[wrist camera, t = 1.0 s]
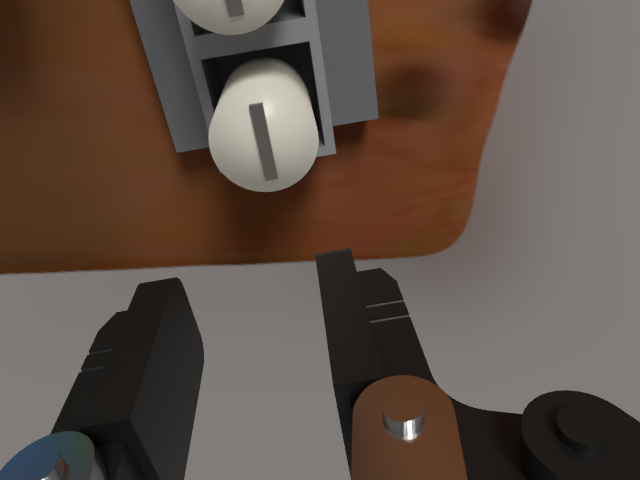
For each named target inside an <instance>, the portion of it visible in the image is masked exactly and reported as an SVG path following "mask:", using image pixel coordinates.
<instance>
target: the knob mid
mask: <svg viewBox="0 0 640 480" xmlns="http://www.w3.org/2000/svg"><path fill="white" fill-rule="evenodd" d="M173 1H174V3H175V4H176V5H177V7H178V8H179V9H180V10H181V11H182V12H183V13H184V14H185V16H186V17H188V18H189V19H190V20H191V21H193V22H194V23H195V24H197V25H199V26H200V27H202V28H204V29H206V30H208V31H211V32H214V33H218V34H224V35H239V34H244V33H248V32H251V31H253V30H256V29H258V28H259V27H261V26H263V25H264V24H265V23H267V22H268V21H269V20H270V19H271V18H272V17H273V16H274V15H275V14H276V13H277V11H278V10H279V9H280V7H281V5H282V3H283V2H284V0H173Z"/></svg>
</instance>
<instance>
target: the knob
mask: <svg viewBox="0 0 640 480" xmlns="http://www.w3.org/2000/svg"><path fill="white" fill-rule="evenodd" d="M208 139H209V148H210V152H211V155H212V158H213V160H214V162H215V164H216V165H217V167H218V168H219V170H220V171H221V172H222V173H223V174H224V175H225V176H226V177H227V178H228V179H229V180H230V181H232V182H233V183H235V184H237V185H238V186H240V187H243V188H245V189H248V190H252V191H257V192H273V191H278V190H282V189H285V188H288V187H290V186H291V185H293V184H295V183H296V182H298V181H299V180H300V179H302V178H303V177H304V176H305V175H306V173H307V172H308V171H309V170H310V168H311V167H312V165H313V163H314V161H315V158H316V155H317V151H318V144H319V137H318V130H317V126H316V122H315V118H314V114H313V109H312V105H311V101H310V97H309V93H308V89H307V87H306V84H305V82H304V80H303V78H302V77H301V75H300V74H299V73H298V72H297V71H296V69H294V68H293V67H292V66H291V65H289V64H288V63H286V62H284V61H282V60H280V59H277V58H272V57H256V58H252V59H250V60H247V61H245V62H243V63H241V64H240V65H239V66H237V67H236V68H235V69H234V70H233V71H232V73H231V74H230V75H229V77H228V79H227V81H226V83H225V86H224V89H223V91H222V94H221V97H220V99H219V102H218V105H217V107H216V110H215V112H214V115H213V118H212V120H211V123H210V128H209V136H208Z"/></svg>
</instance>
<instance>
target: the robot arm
mask: <svg viewBox="0 0 640 480" xmlns="http://www.w3.org/2000/svg"><path fill="white" fill-rule="evenodd" d="M315 256H316V263H317V271H318V278H319V285H320V293H321V300H322V307H323V314H324V322H325V328H326V336H327V343H328V351H329V358H330V365H331V372H332V380H333V387H334V391H335V397H336V402H337V408H338V413H339V418H340V424H341V429H342V434H343V439H344V445H345V450H346V455H347V460H348V465H349V471H350V476H351V480H640V422H639V421H637V420H636V419H634V418H633V417H631V416H630V415H628V414H627V413H625V412H624V411H622V410H621V409H620V408H618V407H616V406H615V405H613V404H611V403H610V402H608V401H606V400H604V399H602V398H599V397H597V396H594V395H591V394H587V393H583V392H578V391H568V390H567V391H554V392H549V393H546V394H543V395H540V396H539V397H537V398H535V399H534V400H533V401H531V402H530V403H529V404H528V405H527V407H526V408H525V410H524V412H523V414H515V413H505V412H495V411H487V410H481V409H477V408H473V407H470V406H467V405H465V404H462V403H460V402H458V401H456V400H454V399H453V398H451V397H450V396H448V395H447V394H446V393H445V392H444V391H443V390H442V389H441V388H440V387H439V386H438V385H437V383H436V382H435V380H434V378H433V376H432V374H431V372H430V369H429V366H428V364H427V361H426V358H425V356H424V353H423V350H422V348H421V345H420V342H419V340H418V337H417V334H416V332H415V329H414V326H413V324H412V321H411V318H410V317H409V313H408V310H407V308H406V305H405V303H404V301H403V297H402V294H401V292H400V289H399V286H398V284H397V281H396V280H395V279H393V278H392V277H391V276H390V275H389V274H387V273H386V272H385V271H384V270H382V269H381V268H377V269H372V270H365V271H360V272H357V271H356V268H355V264H354V260H353V256H352V252H351V249H350V248H348V249H342V250H336V251H330V252H324V253H318V254H315ZM203 365H204V350H203V343H202V338H201V335H200V332H199V329H198V326H197V323H196V320H195V318H194V315H193V312H192V309H191V306H190V303H189V301H188V298H187V295H186V292H185V289H184V287H183V284H182V282H181V281H180V279H178V278H177V277H176V278H170V279H164V280H158V281H153V282H146V283H141V284H139V285H138V287H137V289H136V291H135V294H134V296H133V298H132V301H131V303H130V306H129V308H128V310H127V311H122V312H116V314H115V315H114V316H113V317H112V318H111V319H110V320H109V321H108V322H107V323H106V324H105V325H104V326H103V327H102V328H101V329H100V330H99V331H98V333H97V335H96V337H95V339H94V342H93V344H92V346H91V348H90V350H89V355H87V357H86V359H85V361H84V363H83V365H82V368H81V370H82V372H81V373H79V374H78V376H77V378H76V381H75V382H74V385H73V387H72V389H71V391H70V393H69V395H68V397H67V400H66V402H65V404H64V406H63V408H62V410H61V412H60V415H59V417H58V419H57V421H56V423H55V425H54V427H53V430H52V432H51V434H50V435H48V436H45V437H43V438H41V439H39V440H37V441H35V442H33V443H31V444H30V445H28V446H27V447H25V448H24V449H22V450H21V451H20V452H18V453H17V454H16V455H15V456H14V457H13V458H12V459H11V460H10V461H9V462H8V463H7V464H6V465H5V466H4V467H3V468H2V470H1V471H0V480H184V476H185V470H186V464H187V458H188V452H189V447H190V440H191V435H192V430H193V424H194V418H195V412H196V406H197V400H198V395H199V389H200V382H201V377H202V371H203Z"/></svg>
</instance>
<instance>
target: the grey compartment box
mask: <svg viewBox="0 0 640 480" xmlns="http://www.w3.org/2000/svg"><path fill="white" fill-rule="evenodd" d="M129 1H130V4H131V7H132V11H133V14H134V17H135V20H136V23H137V27H138V30H139V33H140V36H141V40H142V43H143V46H144V49H145V52H146V56H147V59H148V62H149V65H150V69H151V72H152V75H153V78H154V81H155V85H156V88H157V91H158V94H159V98H160V101H161V104H162V107H163V110H164V114H165V117H166V120H167V123H168V126H169V130H170V133H171V136H172V139H173V143H174V146H175V149H176V152H177V153H179V152H185V151H191V150H196V149H202V148H208V147H209V139H208V136H209V128H210V123H211V120H212V118H213V115H214V112H215V110H216V107H217V105H218V102H219V99H220V97H221V94H222V91H223V89H224V86H225V83H226V81H227V79H228V77H229V75H230V74H231V73H232V71H233V70H234V69H235V68H236V67H237V66H239V65H240V64H241V63H243V62H245V61H247V60H250V59H252V58H256V57H272V58H277V59H280V60H282V61H284V62H286V63H288V64H289V65H291V66H292V67H293V68H294V69H296V71H297V72H298V73H299V74H300V75H301V77H302V78H303V80H304V82H305V84H306V87H307V89H308V93H309V97H310V101H311V105H312V109H313V114H314V118H315V122H316V126H317V130H318V137H319V144H318V151H317V155H316V157H319V156H325V155H331V154H336V148H335V141H334V134H333V127H332V126H337V125H343V124H349V123H354V122H360V121H366V120H372V119H378V107H377V96H376V85H375V74H374V63H373V52H372V41H371V30H370V19H369V8H368V0H284V2H283V3H282V5H281V7H280V9H279V10H278V11H277V13H276V14H275V15H274V16H273V17H272V18H271V19H270V20H269V21H268V22H267V23H265V24H264V25H263V26H261V27H259V28H258V29H256V30H253V31H251V32H248V33H244V34H239V35H224V34H218V33H214V32H211V31H208V30H206V29H204V28H202V27H200V26H199V25H197V24H195V23H194V22H193V21H191V20H190V19H189V18H188V17H186V16H185V14H184V13H183V12H182V11H181V10H180V9H179V8H178V7H177V5H176V4H175V3H174V1H173V0H129ZM218 169H219V168H218ZM219 172H220V173H222V172H221V171H220V170H219Z"/></svg>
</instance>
